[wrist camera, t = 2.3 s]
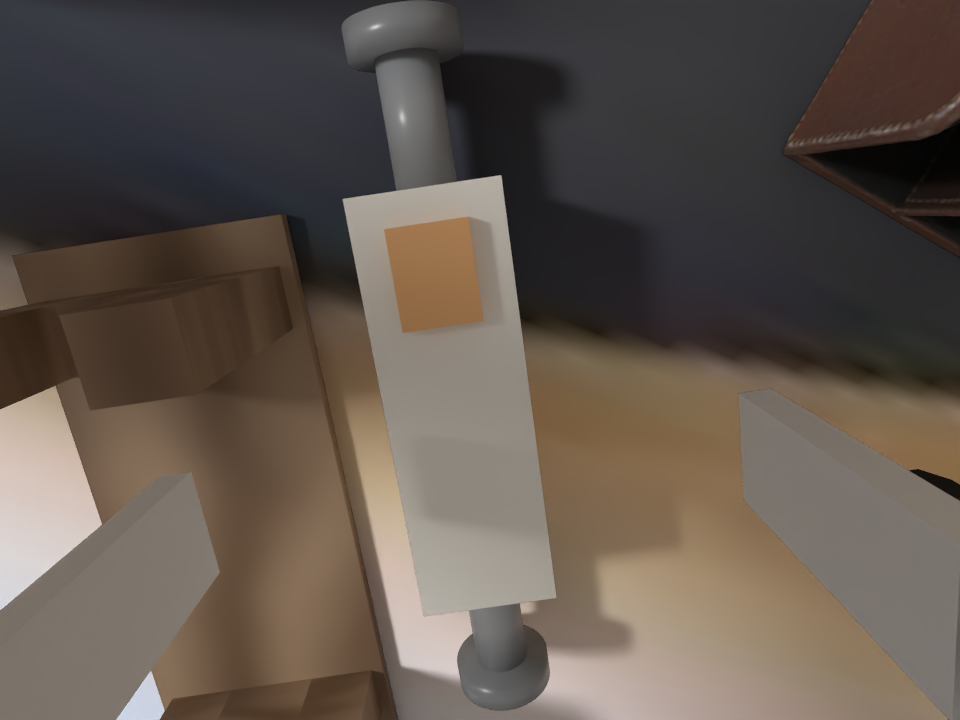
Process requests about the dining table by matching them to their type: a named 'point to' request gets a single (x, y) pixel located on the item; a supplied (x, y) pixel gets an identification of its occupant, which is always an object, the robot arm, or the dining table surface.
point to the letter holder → (893, 117)
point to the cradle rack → (214, 454)
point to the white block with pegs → (451, 361)
